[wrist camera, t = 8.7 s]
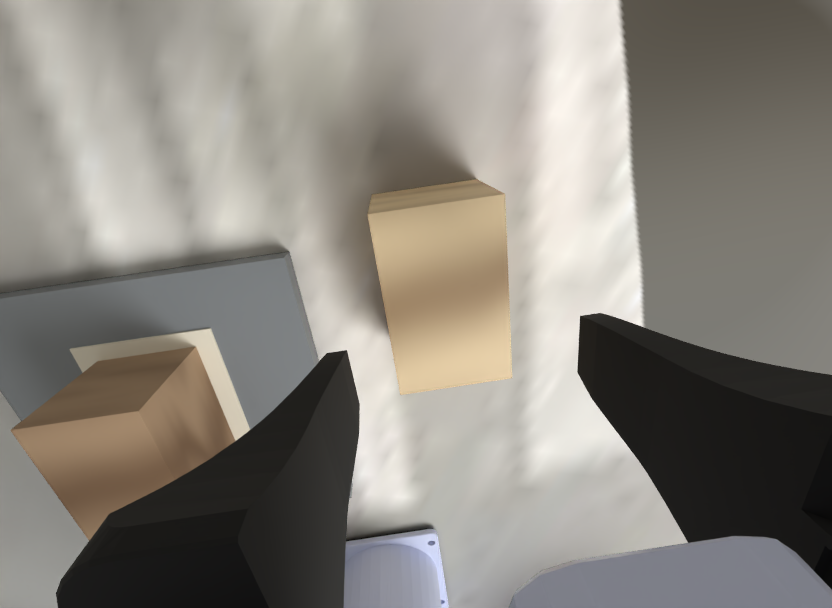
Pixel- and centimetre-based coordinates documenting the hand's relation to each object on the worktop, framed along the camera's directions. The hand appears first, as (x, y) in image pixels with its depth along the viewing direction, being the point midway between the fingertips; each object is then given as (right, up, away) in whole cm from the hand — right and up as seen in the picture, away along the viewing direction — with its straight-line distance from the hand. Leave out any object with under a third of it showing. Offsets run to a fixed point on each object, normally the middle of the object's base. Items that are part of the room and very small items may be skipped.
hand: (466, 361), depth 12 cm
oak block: (-1, +4, +8) cm, 9 cm away
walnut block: (-15, -4, +9) cm, 18 cm away
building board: (-15, -4, +10) cm, 18 cm away
